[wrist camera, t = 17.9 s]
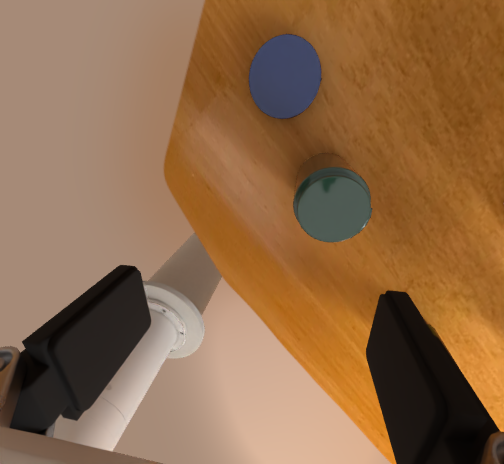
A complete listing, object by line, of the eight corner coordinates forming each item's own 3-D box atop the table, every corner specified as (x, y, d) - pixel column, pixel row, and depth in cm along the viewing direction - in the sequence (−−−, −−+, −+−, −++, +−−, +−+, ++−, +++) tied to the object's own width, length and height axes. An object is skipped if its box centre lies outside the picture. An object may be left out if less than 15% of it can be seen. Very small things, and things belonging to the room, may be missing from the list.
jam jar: (294, 204, 30) (289, 242, 21) (298, 151, 28) (295, 169, 18) (346, 207, 29) (366, 249, 20) (356, 153, 26) (385, 172, 17)
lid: (325, 38, 23) (326, 32, 21) (316, 118, 26) (317, 118, 24) (252, 41, 24) (248, 36, 22) (252, 118, 27) (248, 118, 25)
